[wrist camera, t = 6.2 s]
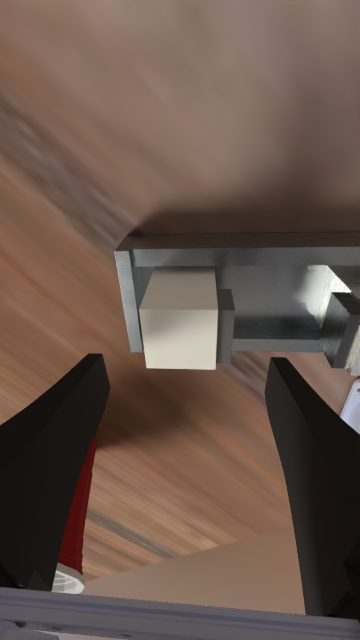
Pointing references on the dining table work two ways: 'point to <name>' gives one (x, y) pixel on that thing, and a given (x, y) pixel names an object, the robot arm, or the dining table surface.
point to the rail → (263, 287)
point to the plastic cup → (75, 534)
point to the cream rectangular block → (186, 319)
